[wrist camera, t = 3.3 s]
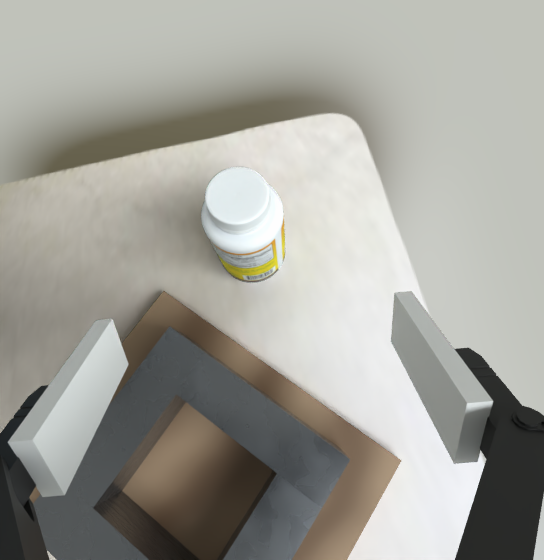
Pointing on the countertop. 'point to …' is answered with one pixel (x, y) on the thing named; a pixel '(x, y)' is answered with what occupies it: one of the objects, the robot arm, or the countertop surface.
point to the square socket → (145, 434)
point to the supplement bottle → (245, 224)
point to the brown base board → (242, 454)
